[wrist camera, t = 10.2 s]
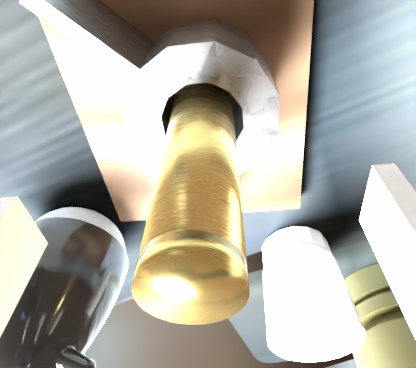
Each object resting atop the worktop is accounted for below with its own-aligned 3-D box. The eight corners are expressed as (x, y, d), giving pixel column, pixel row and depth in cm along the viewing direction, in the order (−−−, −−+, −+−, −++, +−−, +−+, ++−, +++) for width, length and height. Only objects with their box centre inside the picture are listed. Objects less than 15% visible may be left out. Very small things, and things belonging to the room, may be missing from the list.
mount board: (31, -33, 20) (20, -30, 19) (312, -75, 18) (319, -75, 17) (124, 210, 32) (120, 221, 31) (296, 197, 31) (299, 208, 29)
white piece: (55, -26, 19) (12, -12, 15) (267, -57, 18) (281, -51, 14) (136, 206, 30) (123, 250, 26) (269, 196, 29) (277, 239, 25)
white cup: (348, 236, 34) (388, 331, 26) (301, 277, 38) (323, 369, 30) (284, 210, 32) (307, 305, 24) (242, 256, 36) (249, 349, 28)
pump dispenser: (151, 253, 36) (119, 416, 24) (65, 265, 38) (-5, 424, 26) (114, 181, 30) (45, 352, 18) (13, 199, 31) (-111, 367, 20)
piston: (464, 428, 34) (354, 423, 33) (410, 317, 43) (324, 314, 43) (539, 383, 27) (400, 377, 26) (454, 263, 36) (352, 258, 36)
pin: (173, 65, 22) (116, 260, 9) (228, 58, 21) (246, 252, 9) (183, 114, 24) (147, 326, 11) (232, 109, 24) (251, 321, 11)
